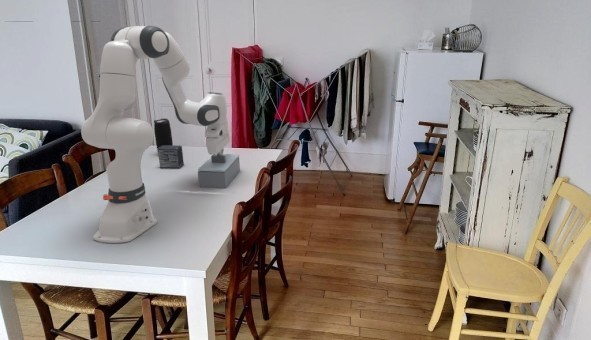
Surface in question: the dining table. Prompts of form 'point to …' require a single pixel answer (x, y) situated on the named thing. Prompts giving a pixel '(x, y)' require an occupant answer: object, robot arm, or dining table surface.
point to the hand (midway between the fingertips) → (220, 158)
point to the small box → (170, 156)
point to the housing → (219, 176)
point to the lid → (219, 163)
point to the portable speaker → (162, 133)
